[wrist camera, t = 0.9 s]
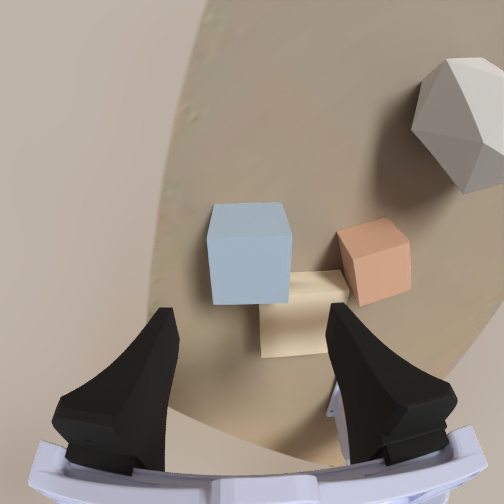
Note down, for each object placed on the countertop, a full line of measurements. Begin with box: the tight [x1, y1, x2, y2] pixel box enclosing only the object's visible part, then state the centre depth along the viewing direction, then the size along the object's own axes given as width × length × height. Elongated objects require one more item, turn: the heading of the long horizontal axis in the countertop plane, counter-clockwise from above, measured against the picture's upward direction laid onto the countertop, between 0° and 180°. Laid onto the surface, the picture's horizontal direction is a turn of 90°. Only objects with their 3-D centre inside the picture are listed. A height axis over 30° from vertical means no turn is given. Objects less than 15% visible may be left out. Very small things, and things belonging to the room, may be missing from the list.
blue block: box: [207, 202, 292, 305], centre depth 20 cm, size 4×4×5 cm
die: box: [411, 58, 504, 194], centre depth 14 cm, size 8×9×10 cm
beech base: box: [259, 270, 350, 358], centre depth 24 cm, size 6×6×3 cm
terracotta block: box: [337, 217, 411, 307], centre depth 21 cm, size 4×4×4 cm
